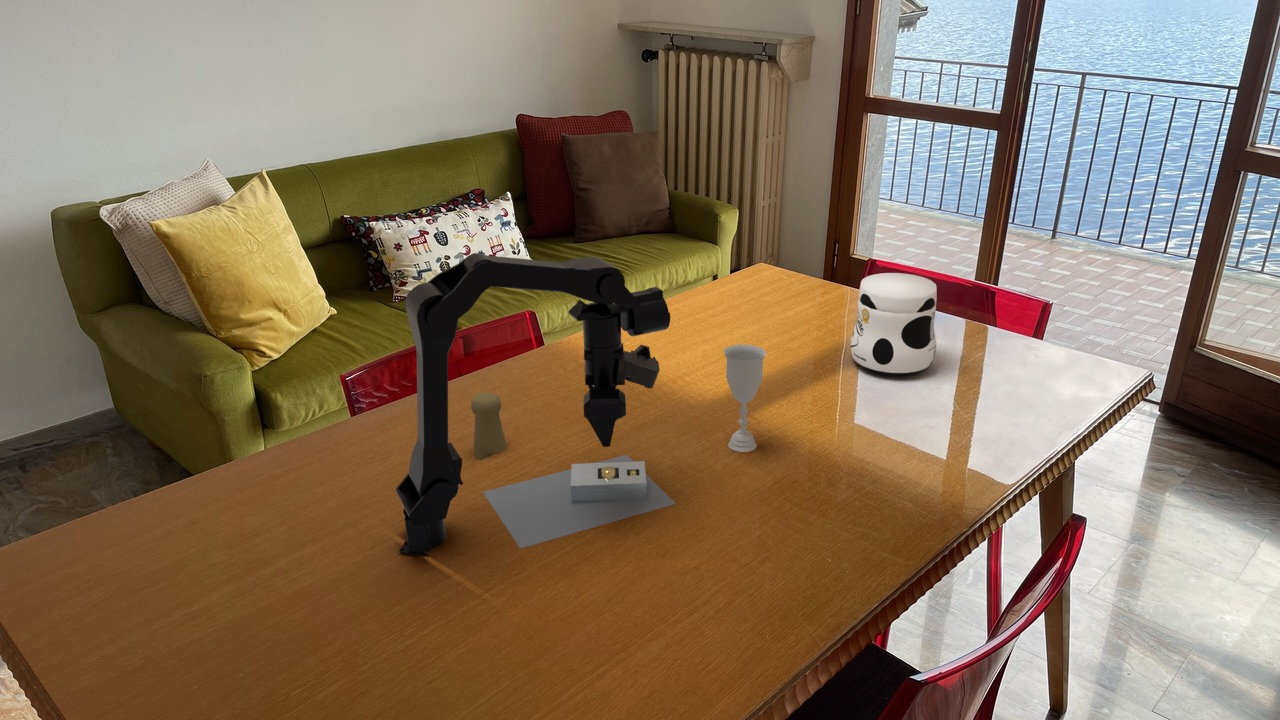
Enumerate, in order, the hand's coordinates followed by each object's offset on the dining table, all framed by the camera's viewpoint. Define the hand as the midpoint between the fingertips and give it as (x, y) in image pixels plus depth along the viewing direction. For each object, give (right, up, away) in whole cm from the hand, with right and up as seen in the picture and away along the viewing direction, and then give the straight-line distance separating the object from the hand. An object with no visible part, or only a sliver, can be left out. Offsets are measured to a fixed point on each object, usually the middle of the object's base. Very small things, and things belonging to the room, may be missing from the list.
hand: (606, 432), depth 149 cm
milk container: (+58, +10, +50) cm, 78 cm away
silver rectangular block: (0, -10, +4) cm, 10 cm away
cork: (-21, -5, +19) cm, 29 cm away
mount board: (-5, -12, +2) cm, 13 cm away
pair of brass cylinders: (+2, -10, +4) cm, 11 cm away
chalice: (+24, -4, +19) cm, 31 cm away
